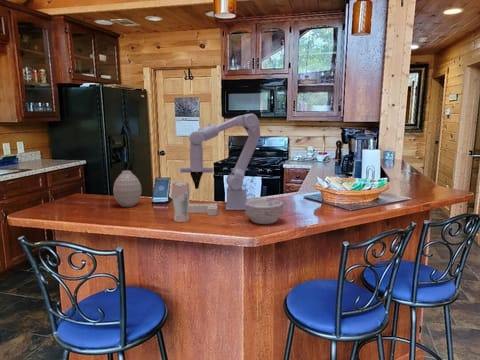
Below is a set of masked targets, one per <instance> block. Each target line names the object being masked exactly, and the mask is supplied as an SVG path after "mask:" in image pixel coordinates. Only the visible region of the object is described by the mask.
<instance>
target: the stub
mask: <svg viewBox="0 0 480 360" xmlns="http://www.w3.org/2000/svg"><path fill="white" fill-rule="evenodd" d="M207 216H218V205H217V206H208V208H207Z"/></svg>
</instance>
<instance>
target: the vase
mask: <svg viewBox="0 0 480 360" xmlns="http://www.w3.org/2000/svg"><path fill="white" fill-rule="evenodd" d="M112 189H113V191H112V192H113V197H114V198H115V201H116V202H117V204H119V205H120V207H124V208H131V207H134V206H136V205H137V204H138V202H139V201H140V200H141V195H142V184H141V182H140V180H139V178H138V177H137V175H135V174H134V173H132V171H131V170H122V171H121V173H120V174H119V175H118V177H116V179H115V181H114V183H113V188H112Z"/></svg>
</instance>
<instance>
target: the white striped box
mask: <svg viewBox="0 0 480 360" xmlns="http://www.w3.org/2000/svg"><path fill="white" fill-rule="evenodd" d="M208 206H217V207H218V203H217V202H189V205H188V214H190V213H191V214H192V213H193V214H195V213H198V214H199V213H201V214H203V213H204V214H206V213H207V208H208Z"/></svg>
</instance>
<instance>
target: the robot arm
mask: <svg viewBox="0 0 480 360" xmlns="http://www.w3.org/2000/svg"><path fill="white" fill-rule="evenodd" d="M260 123H261V121H260V120H259V118H258V116H257V115H256V114H255V113H245V114H243V115H238V116H235V117H232V118H230V119H228V120H226V121H224V122H220V123H219V124H217V125H216V124H214V123H212V124H211V123H208V124H207V125H206V126H205V127H201V128H197V130H196V131H192V132H191V133H190V134H189V137H188V140H189V142H190V143H189V167H180V168H179V171H180V174H183V173H188V174H189V173H190V176H191V178H192V181H193V185H194V188H195V190H198V189H199V187H200V182H201V180H202V176H203V174H204V173H211V174H212V173H213V174H214V167H204V151H203V150H204V148H203V142H207V141H209V140H211V139H214V138H217V137H219V134H220V132H223V131H225V130H228V129H230V128H233V127H236V126H237V127H238V126H239V127H243V128H244V130H245V131H246V133H247V135H248V137H247V139H246V141H245V144H244V146H243V148H242V150H241V153H240V155H239V156H238V160H237V162H236V163H235V166H234V168H233V169H232V171H231V172H230V174H229V175H227V177H226V180H225V182H226V185H227V187H226V205H225V210H226V211H228V210H229V211H234V210H235V211H242V210H244V211H245V210H246V209H245V204H246V202H248V200H247V192H248V191H247V189H244V188H243V185H244V178H245V173H246V170H247V167H248V165H249V163H250V161H251V159H252V156H253V154H254V152H255V150H256V148H257V145H258V144H259V140H260V138H261V128H260V125H261V124H260Z"/></svg>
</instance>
